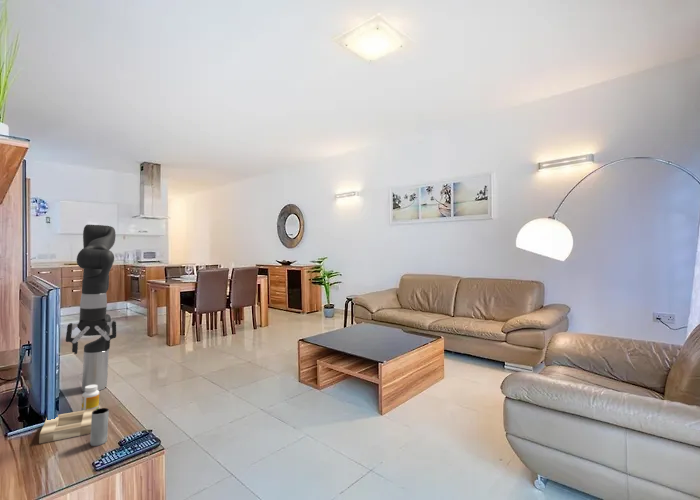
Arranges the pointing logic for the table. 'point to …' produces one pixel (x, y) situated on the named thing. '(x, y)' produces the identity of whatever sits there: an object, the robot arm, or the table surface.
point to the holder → (66, 426)
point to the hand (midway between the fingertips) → (91, 351)
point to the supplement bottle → (90, 398)
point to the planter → (99, 426)
